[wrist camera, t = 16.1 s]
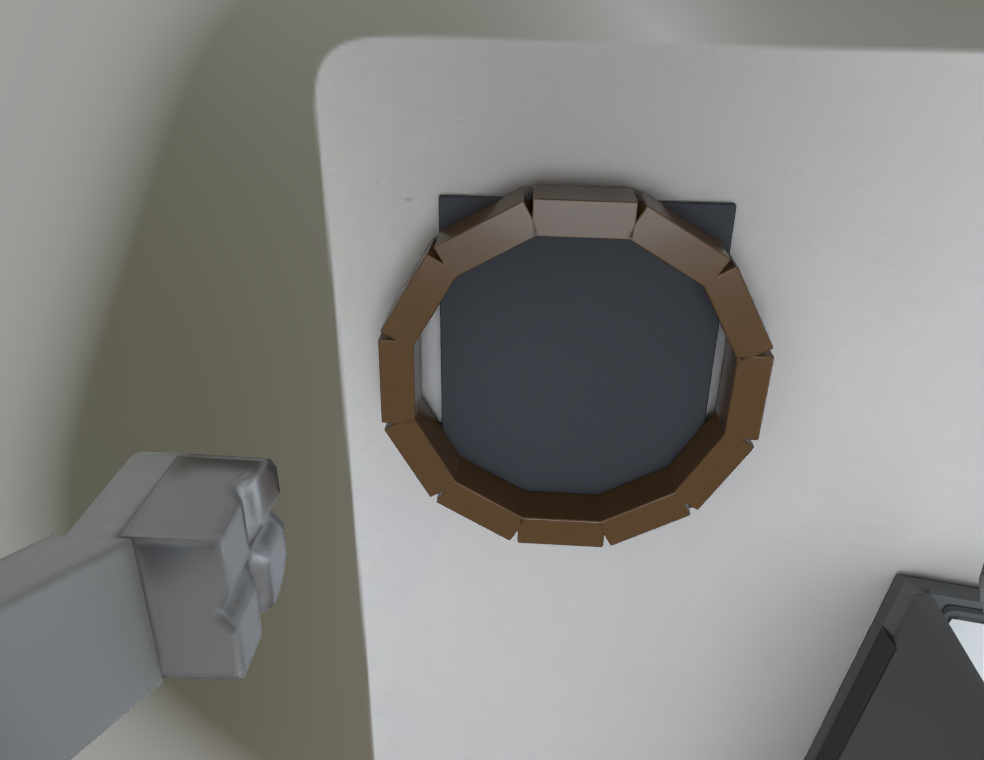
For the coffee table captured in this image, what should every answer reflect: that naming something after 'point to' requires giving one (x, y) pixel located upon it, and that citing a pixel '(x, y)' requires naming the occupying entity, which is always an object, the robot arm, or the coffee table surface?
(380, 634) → the coffee table surface
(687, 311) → the mat
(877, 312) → the coffee table surface
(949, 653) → the laptop
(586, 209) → the hoop
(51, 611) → the robot arm
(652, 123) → the coffee table surface
